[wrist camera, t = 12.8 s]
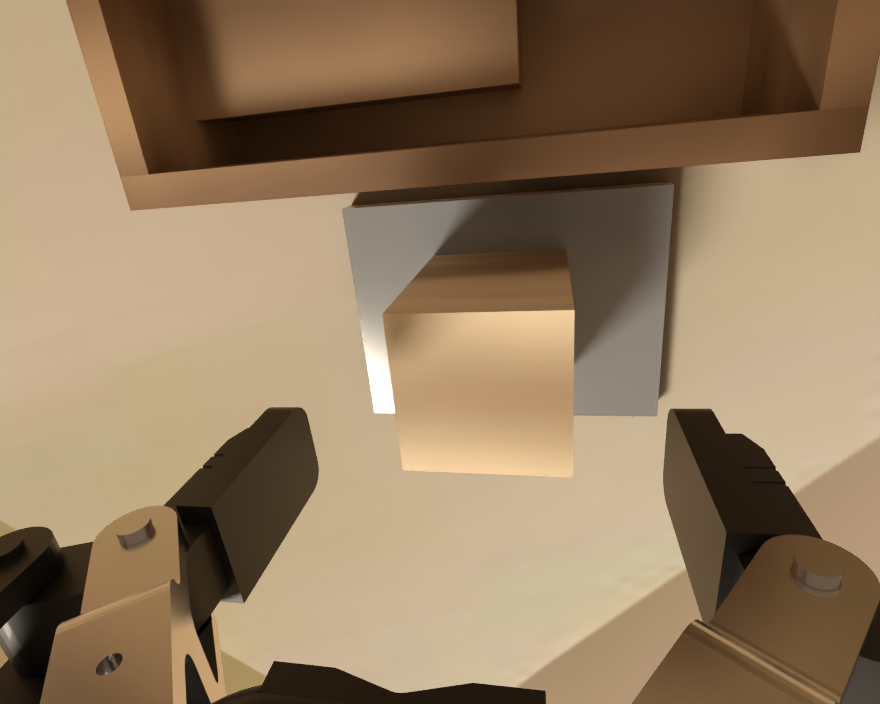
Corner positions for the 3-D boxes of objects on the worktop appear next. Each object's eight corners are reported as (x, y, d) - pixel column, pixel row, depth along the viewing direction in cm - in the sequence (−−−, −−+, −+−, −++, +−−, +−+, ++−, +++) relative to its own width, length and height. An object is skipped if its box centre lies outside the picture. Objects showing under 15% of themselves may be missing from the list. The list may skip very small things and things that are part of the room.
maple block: (433, 255, 20) (382, 314, 14) (566, 249, 19) (574, 310, 13) (444, 372, 22) (403, 470, 16) (565, 372, 21) (572, 477, 15)
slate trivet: (350, 205, 21) (342, 208, 20) (668, 181, 19) (674, 184, 18) (380, 402, 25) (374, 412, 24) (652, 404, 22) (657, 416, 21)
